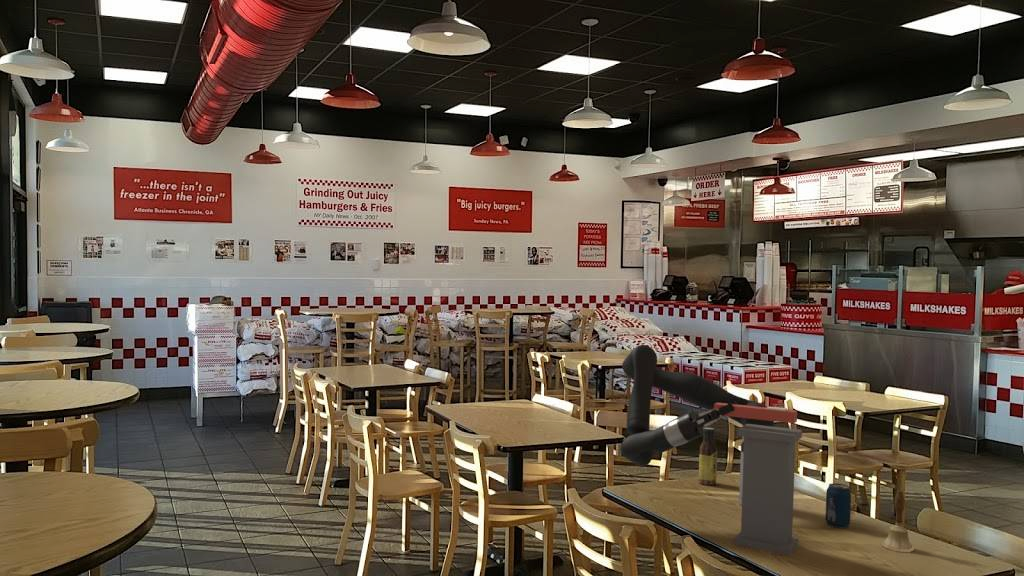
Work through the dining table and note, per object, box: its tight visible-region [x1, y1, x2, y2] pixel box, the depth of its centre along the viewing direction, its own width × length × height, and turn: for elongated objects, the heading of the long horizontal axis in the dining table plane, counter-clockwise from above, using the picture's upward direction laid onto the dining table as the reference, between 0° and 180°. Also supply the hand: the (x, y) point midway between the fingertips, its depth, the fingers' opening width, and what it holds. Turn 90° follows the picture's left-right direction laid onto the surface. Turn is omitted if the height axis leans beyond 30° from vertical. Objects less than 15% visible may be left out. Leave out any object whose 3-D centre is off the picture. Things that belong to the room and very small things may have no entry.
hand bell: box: [881, 489, 913, 550], centre depth 225 cm, size 8×8×16 cm
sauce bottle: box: [698, 427, 718, 486], centre depth 291 cm, size 6×6×20 cm
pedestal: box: [733, 424, 803, 556], centre depth 224 cm, size 15×10×32 cm, turn 59°
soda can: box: [824, 483, 852, 529], centre depth 244 cm, size 7×7×12 cm
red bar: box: [714, 403, 798, 424], centre depth 226 cm, size 22×4×3 cm, turn 59°
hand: (734, 405), depth 229 cm, fingers closed on red bar, 3 cm apart
